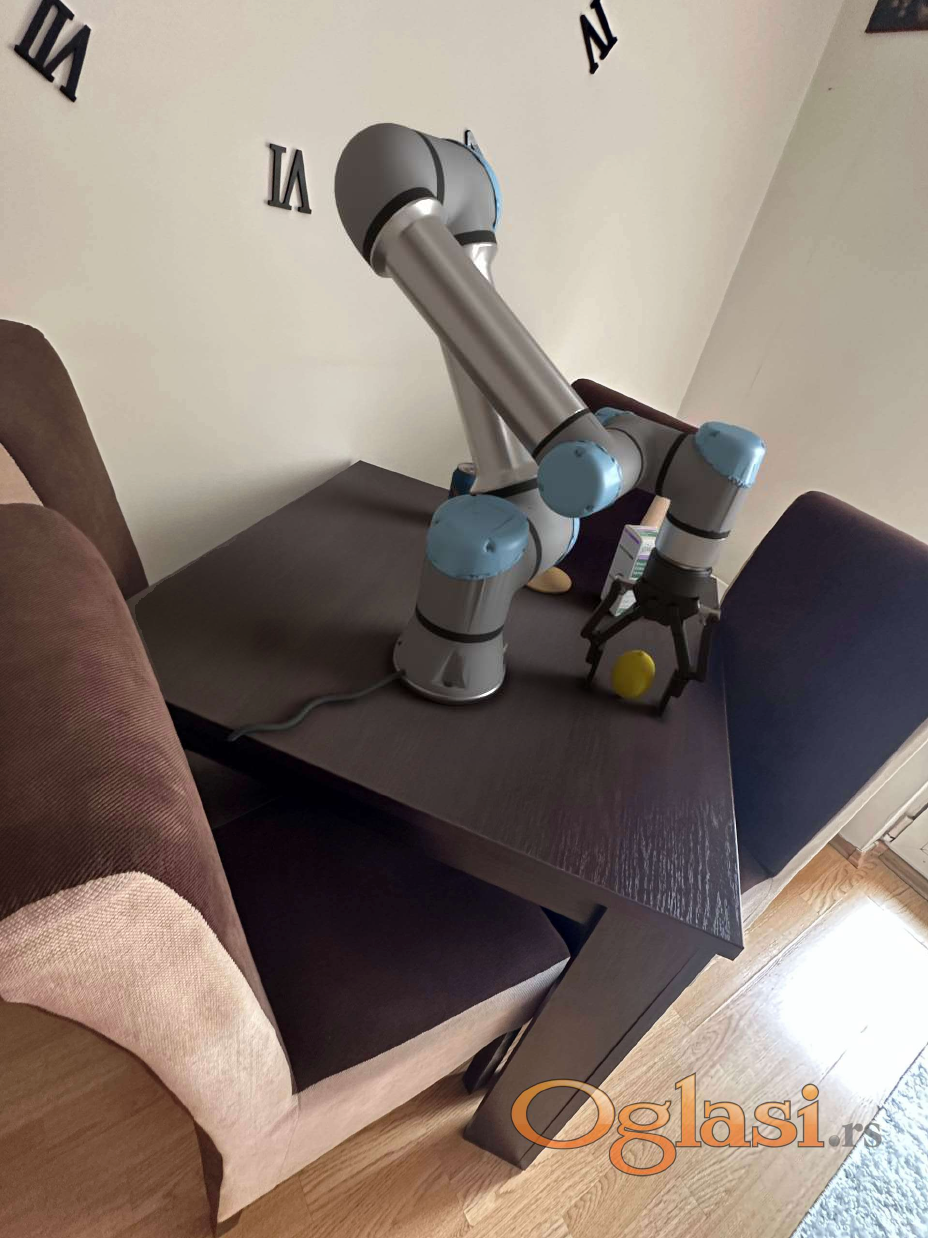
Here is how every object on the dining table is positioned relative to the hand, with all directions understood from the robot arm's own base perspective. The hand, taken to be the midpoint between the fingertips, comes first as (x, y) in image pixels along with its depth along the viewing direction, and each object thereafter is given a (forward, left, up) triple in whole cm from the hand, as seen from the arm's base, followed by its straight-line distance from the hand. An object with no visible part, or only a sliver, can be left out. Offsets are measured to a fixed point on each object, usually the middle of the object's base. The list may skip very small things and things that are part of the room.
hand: (623, 696), depth 90 cm
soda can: (+13, +49, 0) cm, 51 cm away
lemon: (0, 0, 0) cm, 0 cm away
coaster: (+14, +28, 0) cm, 31 cm away
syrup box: (+20, +15, 0) cm, 25 cm away
